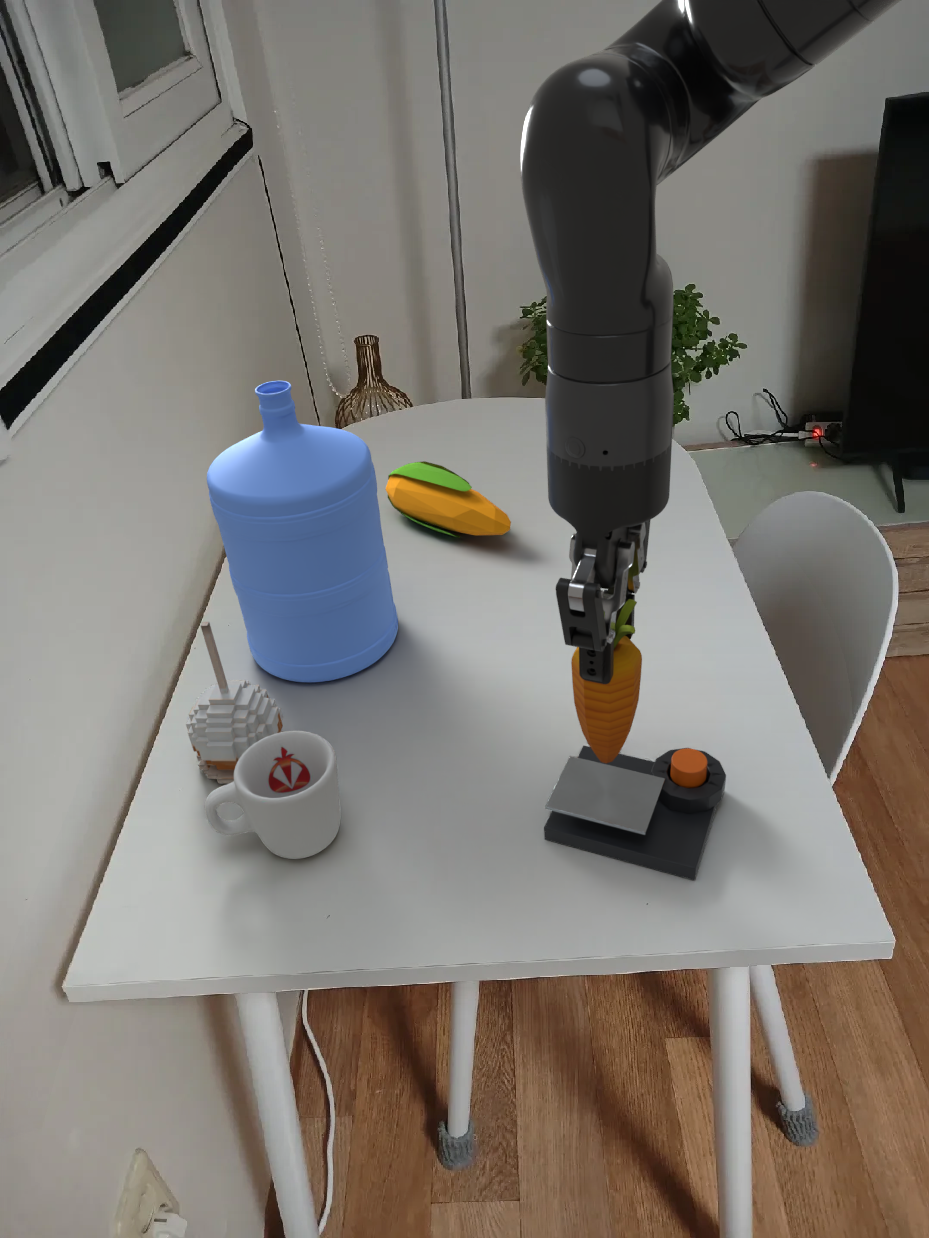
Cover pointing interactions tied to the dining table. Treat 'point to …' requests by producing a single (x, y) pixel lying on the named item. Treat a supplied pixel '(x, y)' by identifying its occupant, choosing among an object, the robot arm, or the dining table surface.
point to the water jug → (304, 544)
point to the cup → (283, 794)
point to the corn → (443, 501)
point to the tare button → (688, 768)
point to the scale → (672, 826)
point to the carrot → (610, 694)
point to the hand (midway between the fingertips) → (607, 656)
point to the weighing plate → (606, 794)
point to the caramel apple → (228, 719)
